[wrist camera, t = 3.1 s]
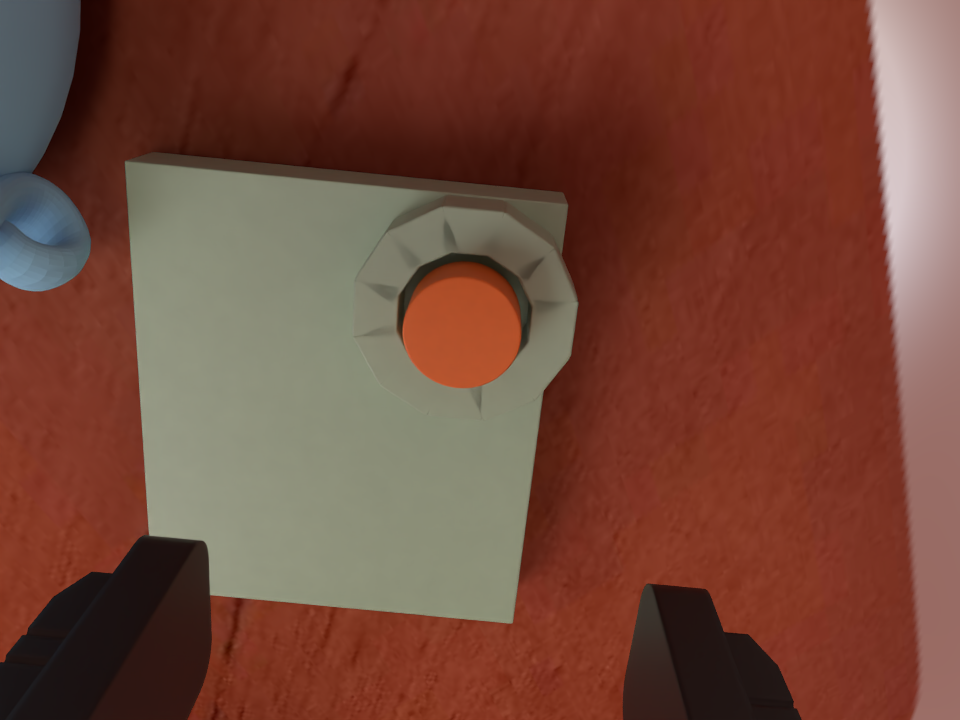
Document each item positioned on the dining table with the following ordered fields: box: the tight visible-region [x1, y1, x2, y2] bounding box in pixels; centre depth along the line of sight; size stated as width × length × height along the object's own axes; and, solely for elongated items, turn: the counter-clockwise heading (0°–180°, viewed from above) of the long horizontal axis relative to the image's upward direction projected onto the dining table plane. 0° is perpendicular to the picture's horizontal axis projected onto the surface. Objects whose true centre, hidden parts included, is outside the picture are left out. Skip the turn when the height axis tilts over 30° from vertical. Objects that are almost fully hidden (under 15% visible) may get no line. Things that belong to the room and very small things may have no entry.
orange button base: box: [125, 152, 579, 623], centre depth 25 cm, size 12×14×4 cm
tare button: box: [403, 261, 522, 388], centre depth 21 cm, size 3×3×2 cm
